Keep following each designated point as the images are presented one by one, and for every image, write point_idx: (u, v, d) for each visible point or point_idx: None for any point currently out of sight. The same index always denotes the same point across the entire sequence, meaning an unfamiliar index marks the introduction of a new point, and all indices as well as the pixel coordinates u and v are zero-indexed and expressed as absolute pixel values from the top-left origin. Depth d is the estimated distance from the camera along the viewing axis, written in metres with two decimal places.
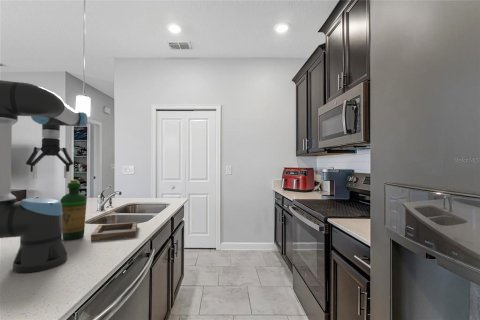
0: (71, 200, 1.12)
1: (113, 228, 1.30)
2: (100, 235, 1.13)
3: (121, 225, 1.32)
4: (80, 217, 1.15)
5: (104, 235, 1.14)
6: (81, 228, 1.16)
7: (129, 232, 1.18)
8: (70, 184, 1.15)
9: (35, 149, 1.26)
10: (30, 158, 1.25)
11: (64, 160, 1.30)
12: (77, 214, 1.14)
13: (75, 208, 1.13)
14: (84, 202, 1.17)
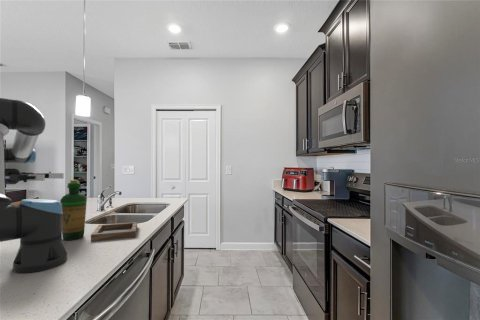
0: (71, 200, 1.12)
1: (113, 228, 1.30)
2: (100, 235, 1.13)
3: (121, 225, 1.32)
4: (80, 217, 1.15)
5: (104, 235, 1.14)
6: (81, 228, 1.16)
7: (129, 232, 1.18)
8: (70, 184, 1.15)
9: (9, 174, 1.09)
10: (16, 175, 1.07)
11: None
12: (77, 214, 1.14)
13: (75, 208, 1.13)
14: (84, 202, 1.17)
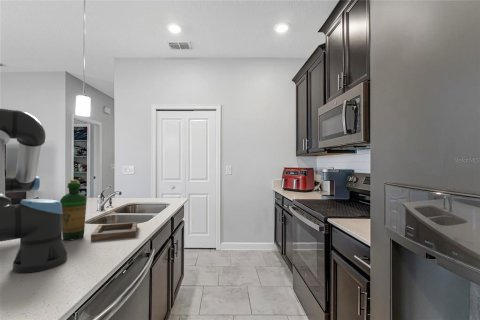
0: (71, 200, 1.12)
1: (113, 228, 1.30)
2: (100, 235, 1.13)
3: (121, 225, 1.32)
4: (80, 217, 1.15)
5: (104, 235, 1.14)
6: (81, 228, 1.16)
7: (129, 232, 1.18)
8: (70, 184, 1.15)
9: None
10: None
11: None
12: (77, 214, 1.14)
13: (75, 208, 1.13)
14: (84, 202, 1.17)
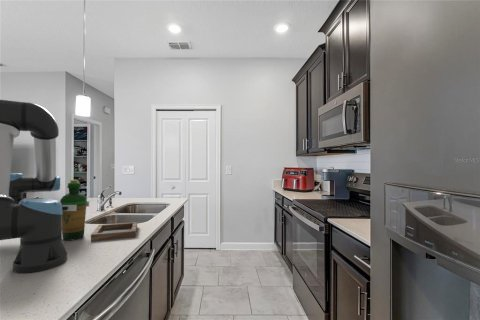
0: (71, 200, 1.12)
1: (113, 228, 1.30)
2: (100, 235, 1.13)
3: (121, 225, 1.32)
4: (80, 217, 1.15)
5: (104, 235, 1.14)
6: (81, 228, 1.16)
7: (129, 232, 1.18)
8: (70, 184, 1.15)
9: None
10: None
11: None
12: (77, 214, 1.14)
13: None
14: (84, 202, 1.17)
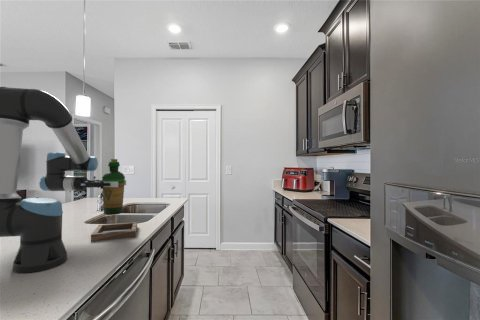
0: (113, 177, 1.20)
1: (113, 228, 1.30)
2: (100, 235, 1.13)
3: (121, 225, 1.32)
4: (120, 193, 1.23)
5: (104, 235, 1.14)
6: (120, 204, 1.24)
7: (129, 232, 1.18)
8: (111, 162, 1.23)
9: (84, 181, 1.17)
10: (93, 182, 1.17)
11: None
12: (118, 190, 1.22)
13: None
14: (123, 180, 1.25)
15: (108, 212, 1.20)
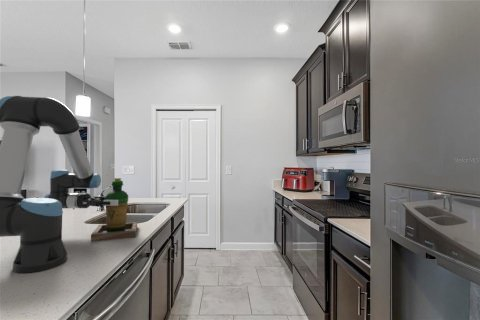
0: (116, 197, 1.20)
1: None
2: (100, 235, 1.13)
3: None
4: (123, 213, 1.22)
5: (104, 235, 1.14)
6: (123, 223, 1.23)
7: (129, 232, 1.18)
8: (114, 182, 1.22)
9: (86, 200, 1.17)
10: (94, 200, 1.16)
11: None
12: (121, 210, 1.21)
13: (119, 204, 1.21)
14: (127, 199, 1.24)
15: None
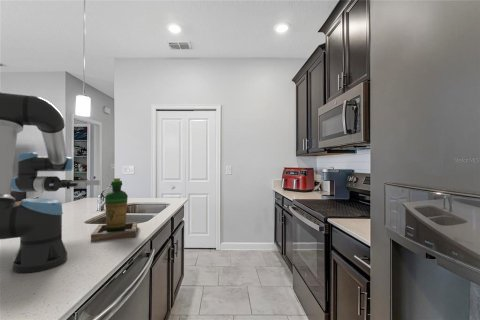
0: (115, 197, 1.20)
1: None
2: (100, 235, 1.13)
3: None
4: (123, 213, 1.22)
5: (104, 235, 1.14)
6: (123, 223, 1.23)
7: (129, 232, 1.18)
8: (114, 182, 1.22)
9: (52, 182, 1.15)
10: (60, 182, 1.14)
11: (80, 180, 1.28)
12: (120, 210, 1.21)
13: (119, 204, 1.21)
14: (126, 199, 1.25)
15: None
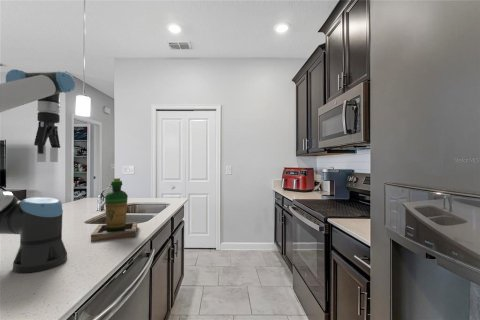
0: (115, 197, 1.20)
1: None
2: (100, 235, 1.13)
3: None
4: (123, 213, 1.22)
5: (104, 235, 1.14)
6: (123, 223, 1.23)
7: (129, 232, 1.18)
8: (114, 182, 1.22)
9: None
10: None
11: None
12: (120, 210, 1.21)
13: (119, 204, 1.21)
14: (126, 199, 1.25)
15: None
